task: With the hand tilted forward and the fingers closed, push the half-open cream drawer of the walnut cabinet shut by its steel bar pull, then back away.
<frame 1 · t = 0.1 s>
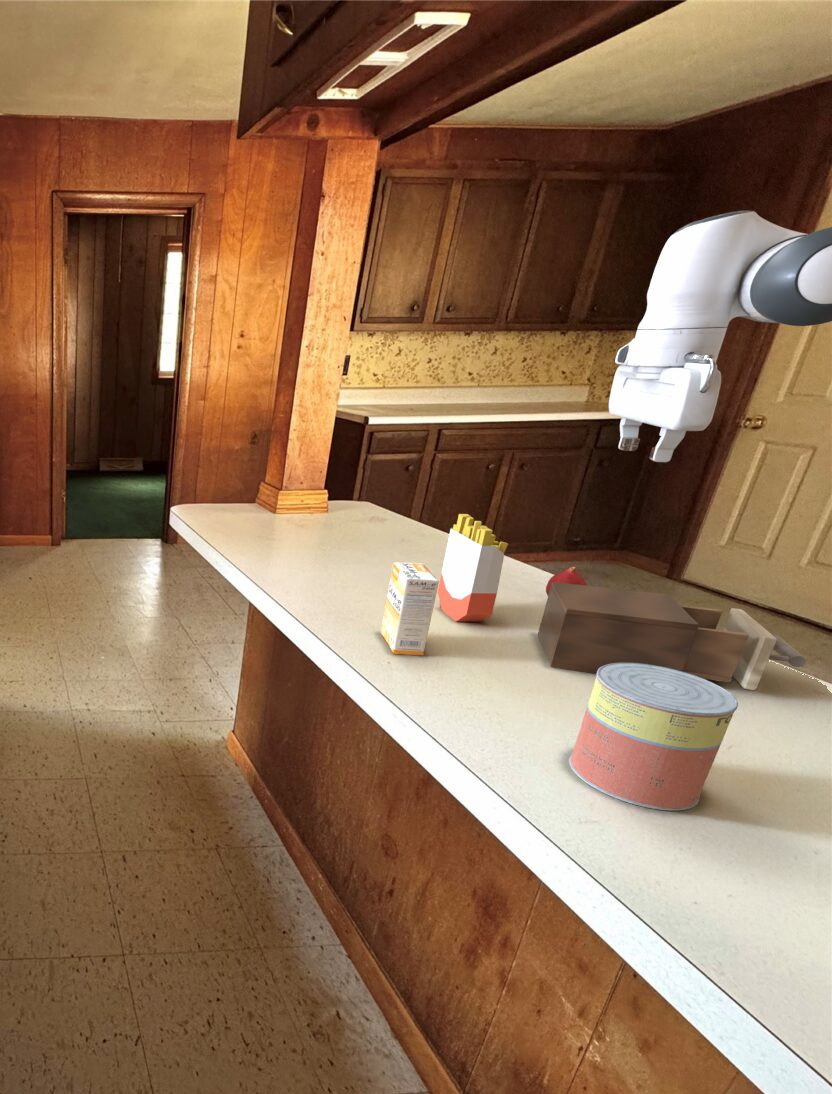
hand: (642, 455, 94), 31 cm above the countertop, tool pointing down, fingers open, 8 cm apart
supplement box: (400, 645, 109), on the countertop
cabinet: (601, 658, 102), on the countertop
onion: (560, 608, 121), on the countertop
drawer: (705, 642, 96), point 5 cm above the countertop, slide at 7.0 cm
canned food: (630, 779, 76), on the countertop
french fries container: (461, 616, 119), on the countertop
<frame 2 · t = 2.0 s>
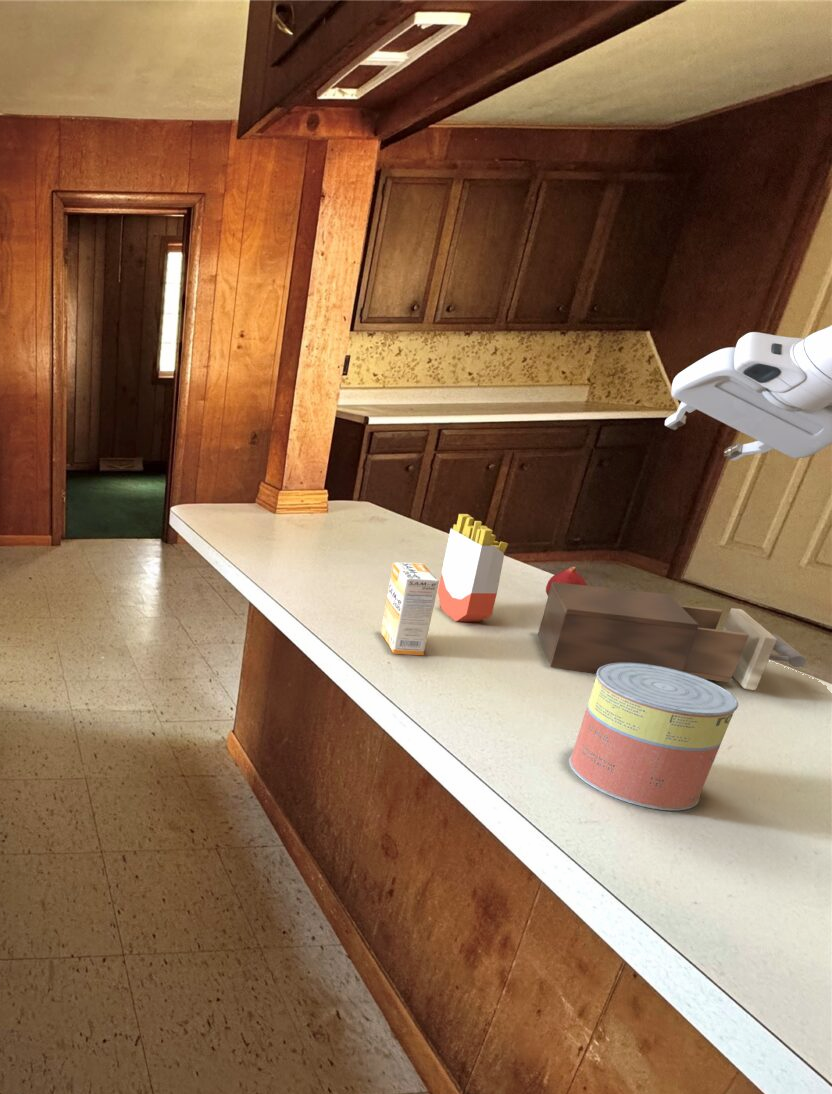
hand: (698, 440, 100), 32 cm above the countertop, tool tilted 45°, fingers open, 8 cm apart
nothing on the countertop moved.
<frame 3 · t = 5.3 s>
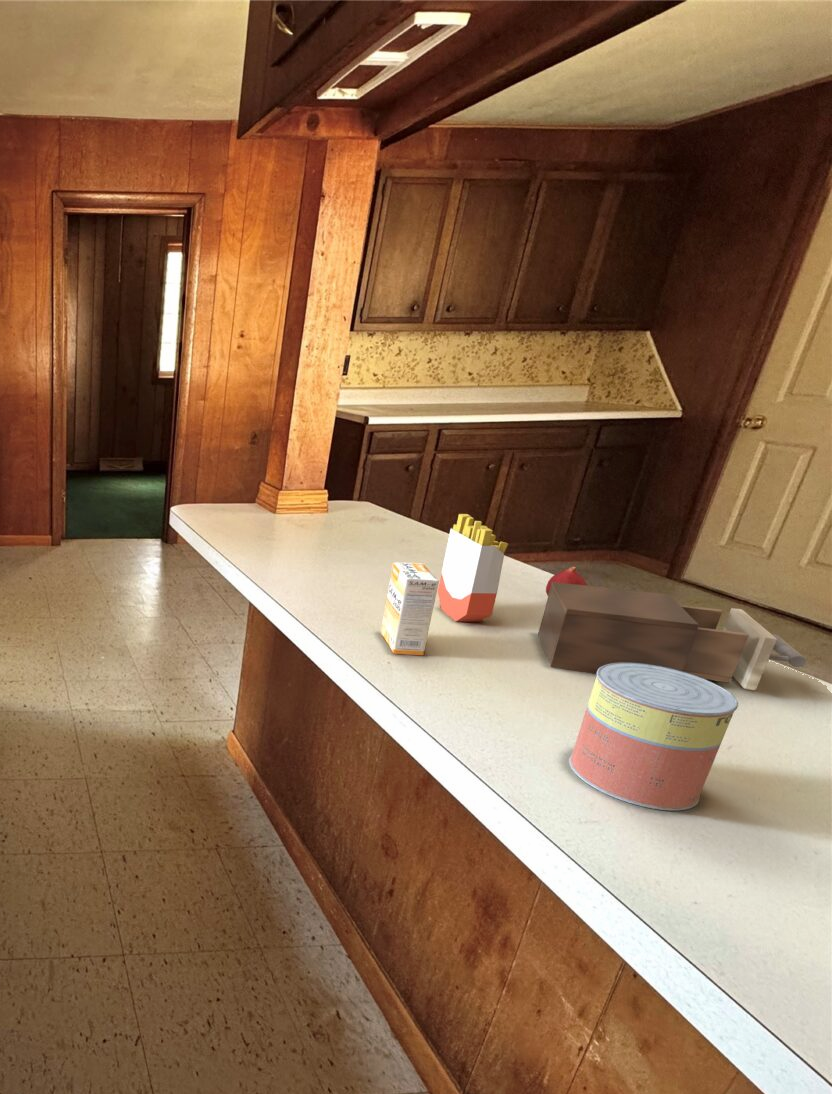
nothing on the countertop moved.
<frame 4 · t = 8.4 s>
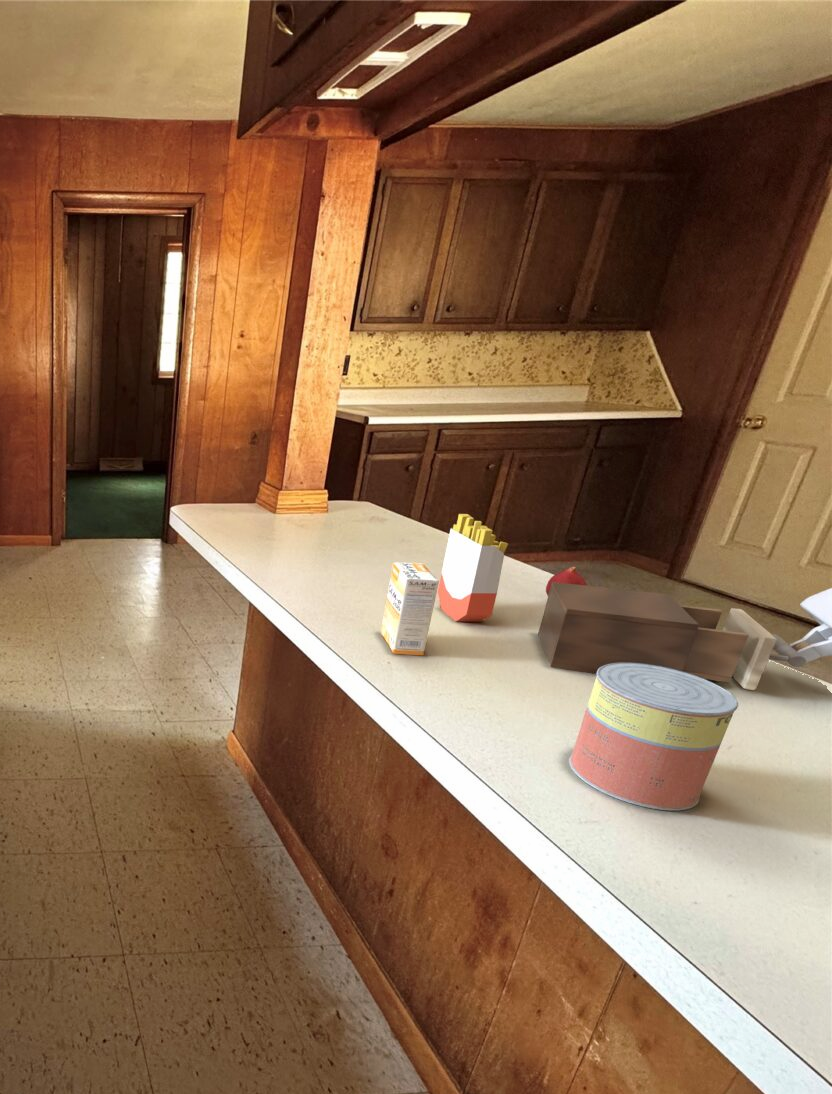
hand: (796, 654, 92), 5 cm above the countertop, tool tilted 45°, fingers closed, pressing on drawer
drawer: (705, 642, 96), point 5 cm above the countertop, slide at 7.0 cm, touching gripper
everything else where it was.
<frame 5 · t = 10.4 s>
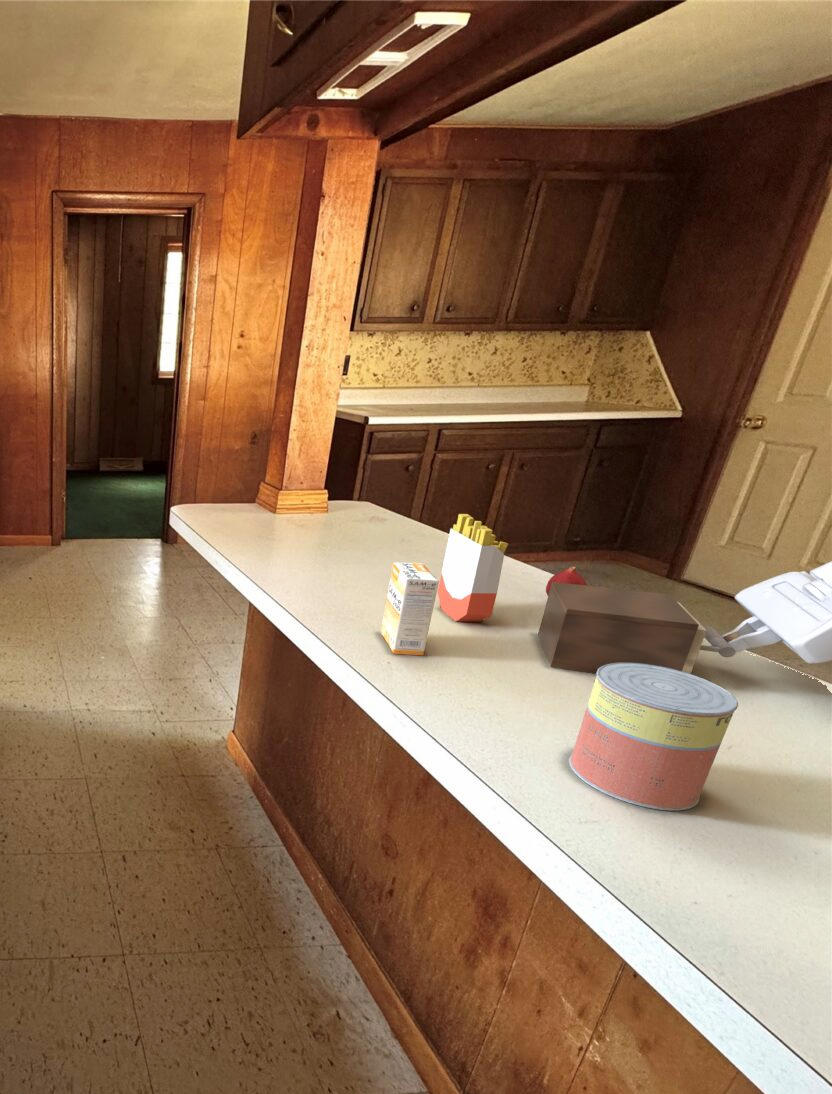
hand: (727, 645, 95), 5 cm above the countertop, tool tilted 45°, fingers closed, pressing on drawer
drawer: (643, 634, 99), point 5 cm above the countertop, slide at 0.0 cm, touching cabinet, gripper
everything else where it was.
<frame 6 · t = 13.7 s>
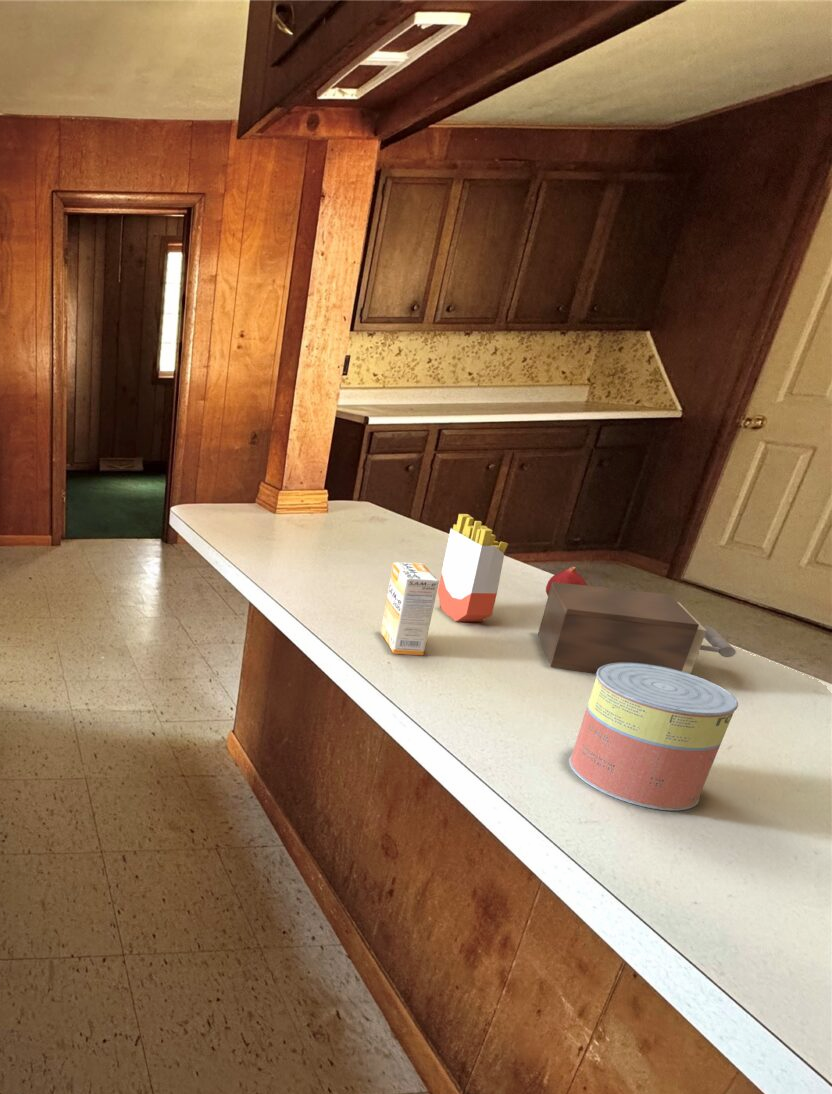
drawer: (643, 634, 99), point 5 cm above the countertop, slide at 0.0 cm
everything else where it was.
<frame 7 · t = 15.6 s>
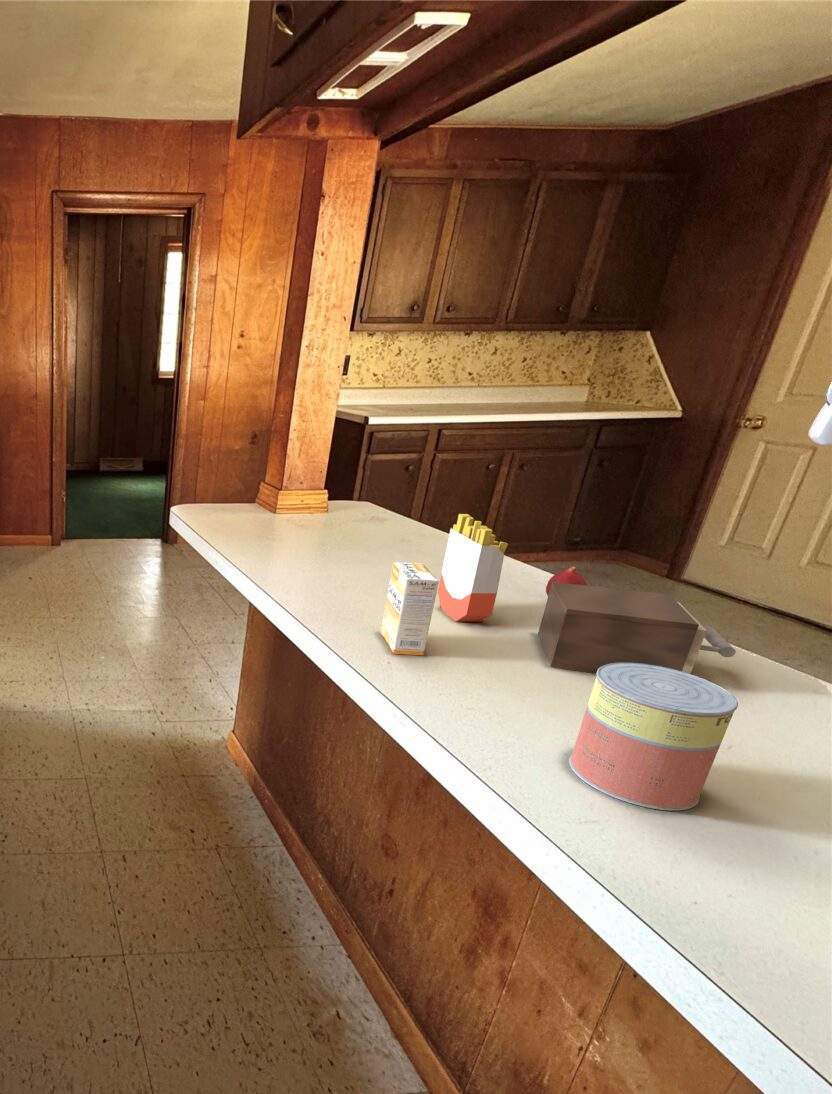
nothing on the countertop moved.
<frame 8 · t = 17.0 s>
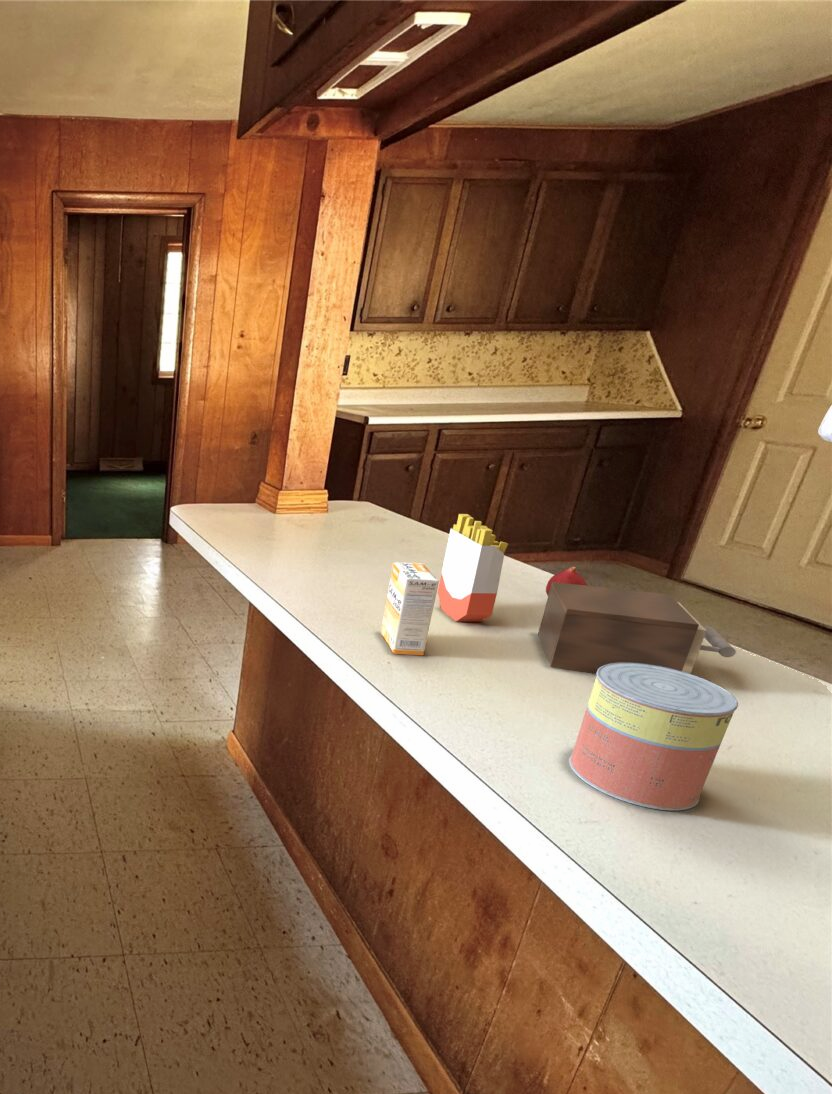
nothing on the countertop moved.
at the end: drawer slide at 0.0 cm; onion moved 0.2 cm from its start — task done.
